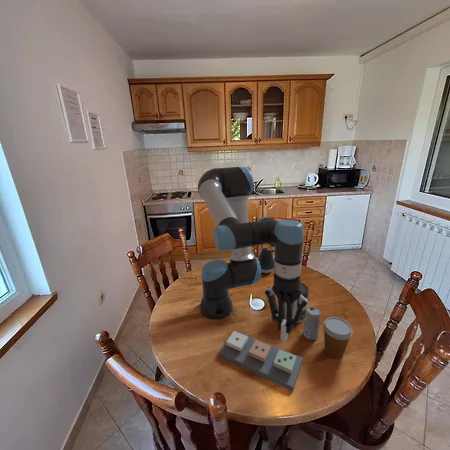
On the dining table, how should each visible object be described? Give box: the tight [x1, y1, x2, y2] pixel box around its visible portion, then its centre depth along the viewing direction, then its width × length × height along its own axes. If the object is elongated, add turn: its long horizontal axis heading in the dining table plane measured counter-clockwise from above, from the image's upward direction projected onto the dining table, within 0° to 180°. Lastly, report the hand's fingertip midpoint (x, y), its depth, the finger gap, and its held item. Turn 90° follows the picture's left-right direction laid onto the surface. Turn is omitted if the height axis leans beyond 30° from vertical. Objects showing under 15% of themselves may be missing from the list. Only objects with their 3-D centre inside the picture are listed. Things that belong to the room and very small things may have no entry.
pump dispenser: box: [257, 247, 275, 274], centre depth 140 cm, size 10×10×15 cm
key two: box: [249, 339, 271, 362], centre depth 84 cm, size 6×6×4 cm
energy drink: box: [303, 305, 322, 341], centre depth 93 cm, size 5×5×12 cm
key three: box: [273, 348, 298, 374], centre depth 80 cm, size 6×6×4 cm
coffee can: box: [284, 281, 310, 323], centre depth 104 cm, size 10×10×14 cm
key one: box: [225, 330, 249, 351], centre depth 88 cm, size 6×6×4 cm
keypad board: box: [218, 330, 303, 392], centre depth 85 cm, size 27×12×2 cm, turn 60°
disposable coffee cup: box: [322, 316, 354, 360], centre depth 85 cm, size 10×10×12 cm
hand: (284, 339), depth 76 cm, fingers closed
